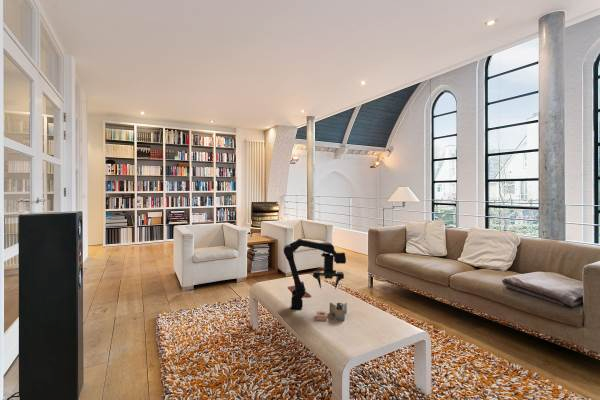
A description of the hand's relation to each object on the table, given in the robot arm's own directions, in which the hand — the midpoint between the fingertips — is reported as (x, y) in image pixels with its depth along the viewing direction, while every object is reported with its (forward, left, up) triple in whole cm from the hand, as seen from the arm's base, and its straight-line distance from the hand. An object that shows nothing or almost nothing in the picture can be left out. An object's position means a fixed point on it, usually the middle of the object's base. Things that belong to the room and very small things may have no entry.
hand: (328, 288), depth 189 cm
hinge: (+6, -13, -12) cm, 19 cm away
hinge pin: (+6, -16, -12) cm, 21 cm away
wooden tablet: (-19, +28, -13) cm, 36 cm away
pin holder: (-4, -16, -12) cm, 20 cm away
